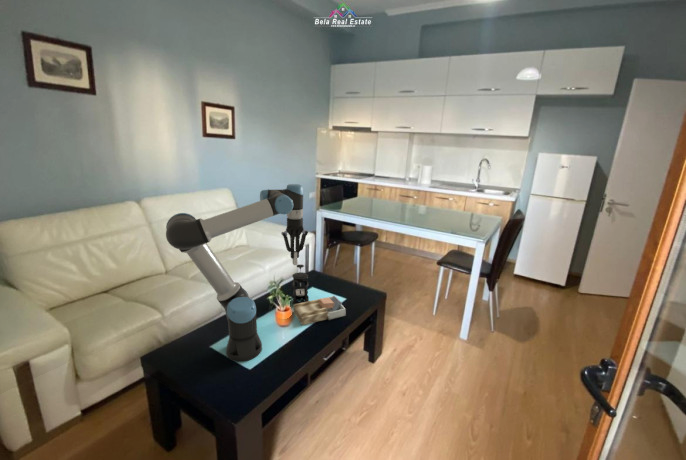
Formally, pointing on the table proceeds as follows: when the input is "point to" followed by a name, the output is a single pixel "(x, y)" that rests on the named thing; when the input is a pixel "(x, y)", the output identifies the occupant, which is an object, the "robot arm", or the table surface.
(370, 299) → the table surface
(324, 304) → the terracotta tile
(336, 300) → the slate tile
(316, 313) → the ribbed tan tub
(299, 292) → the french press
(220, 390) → the table surface
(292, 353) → the table surface
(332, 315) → the tray
